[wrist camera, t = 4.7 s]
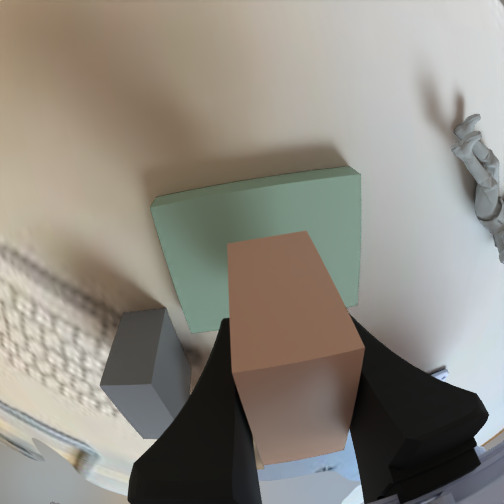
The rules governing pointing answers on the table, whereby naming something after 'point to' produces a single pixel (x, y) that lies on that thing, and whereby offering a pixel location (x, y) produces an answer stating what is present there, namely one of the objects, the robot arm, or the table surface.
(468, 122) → the soldier figure
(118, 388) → the charcoal brick
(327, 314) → the terracotta brick
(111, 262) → the table surface
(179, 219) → the sage board
